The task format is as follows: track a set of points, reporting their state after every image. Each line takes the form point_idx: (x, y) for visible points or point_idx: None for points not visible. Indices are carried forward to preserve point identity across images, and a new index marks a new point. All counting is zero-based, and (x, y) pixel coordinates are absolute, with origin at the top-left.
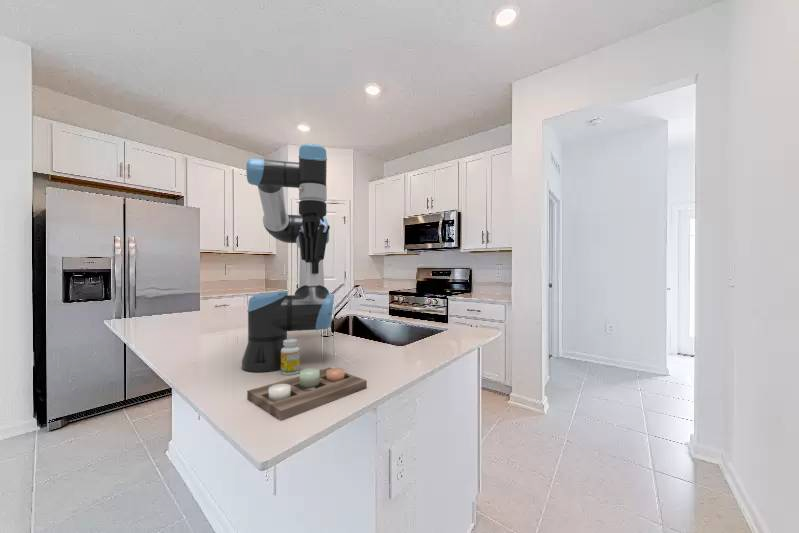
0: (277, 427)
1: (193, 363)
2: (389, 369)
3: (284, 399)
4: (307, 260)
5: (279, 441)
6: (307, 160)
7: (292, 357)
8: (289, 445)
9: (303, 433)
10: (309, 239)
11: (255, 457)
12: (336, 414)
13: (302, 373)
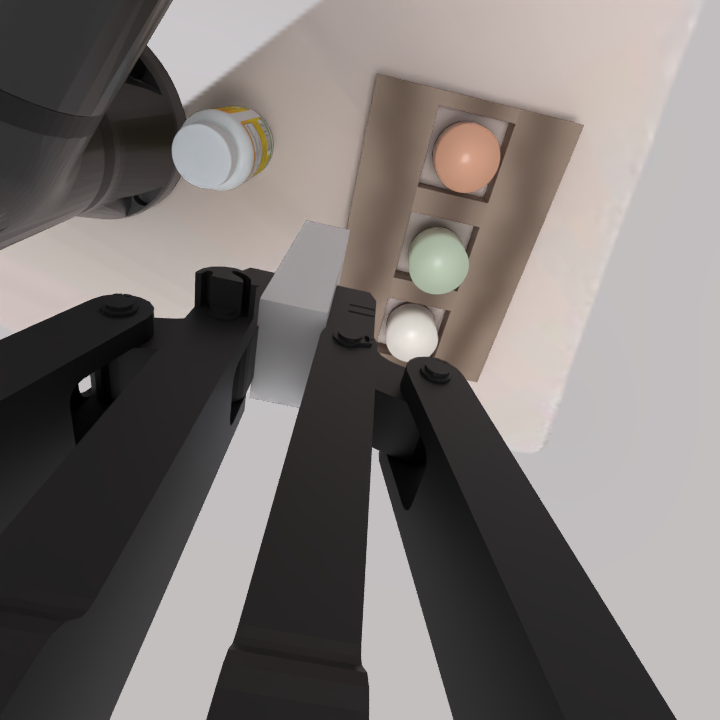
0: (487, 389)
1: None
2: None
3: (442, 344)
4: (243, 405)
5: (523, 415)
6: None
7: (256, 168)
8: (547, 415)
9: (546, 384)
10: (114, 669)
11: (520, 451)
12: (569, 304)
13: (432, 290)
